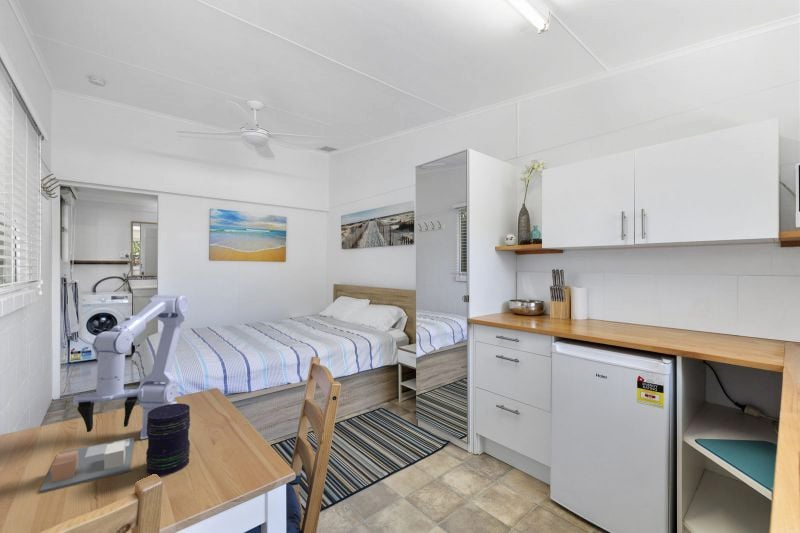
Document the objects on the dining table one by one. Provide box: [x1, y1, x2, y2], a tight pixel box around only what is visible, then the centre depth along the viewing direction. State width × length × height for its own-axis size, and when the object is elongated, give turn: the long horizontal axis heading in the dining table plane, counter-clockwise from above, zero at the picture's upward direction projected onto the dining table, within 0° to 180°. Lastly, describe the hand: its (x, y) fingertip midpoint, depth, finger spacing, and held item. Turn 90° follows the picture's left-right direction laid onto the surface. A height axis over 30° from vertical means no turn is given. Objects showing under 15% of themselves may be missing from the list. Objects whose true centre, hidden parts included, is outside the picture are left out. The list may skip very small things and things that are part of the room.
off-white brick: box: [104, 441, 126, 470], centre depth 97 cm, size 4×6×4 cm, turn 34°
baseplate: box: [39, 436, 135, 494], centre depth 98 cm, size 17×20×1 cm
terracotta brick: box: [51, 451, 78, 482], centre depth 92 cm, size 4×6×4 cm, turn 34°
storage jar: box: [145, 403, 191, 477], centre depth 97 cm, size 10×10×15 cm
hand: (108, 427), depth 96 cm, fingers open, 7 cm apart
